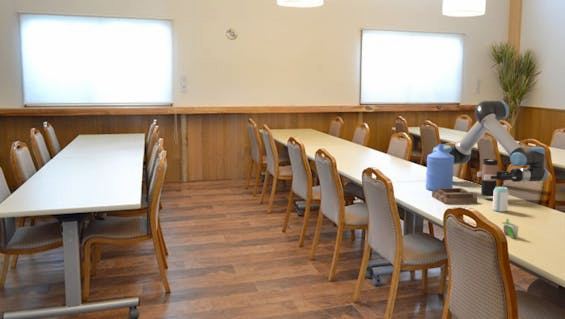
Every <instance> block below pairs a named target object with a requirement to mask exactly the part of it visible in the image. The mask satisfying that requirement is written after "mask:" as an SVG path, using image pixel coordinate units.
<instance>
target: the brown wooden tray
mask: <svg viewBox="0 0 565 319" xmlns="http://www.w3.org/2000/svg"><path fill="white" fill-rule="evenodd" d="M431 197H432V198H434V199H435V200H437V201H439V202H441V203H442V204H444V205H462V204H467V205H469V204H477V203H478V197H477V196H474V193H473V192H470V191H468V190H466V189H464V188H463V187H453V188H442V189H436V191H431Z"/></svg>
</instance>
